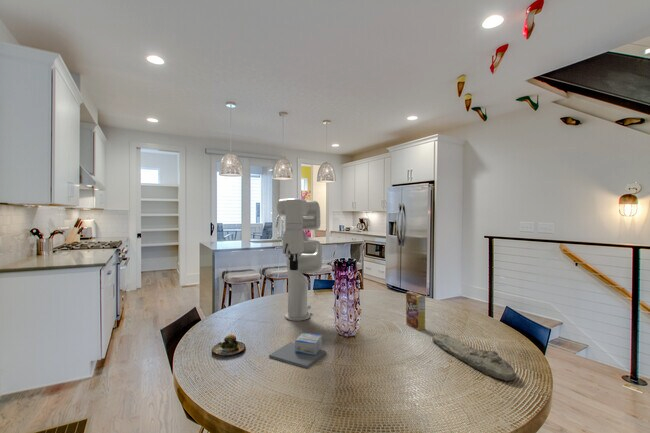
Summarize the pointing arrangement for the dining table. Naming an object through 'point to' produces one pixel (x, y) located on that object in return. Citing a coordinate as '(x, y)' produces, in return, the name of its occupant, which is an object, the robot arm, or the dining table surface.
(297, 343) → the medicine box
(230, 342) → the burger
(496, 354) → the long grey stone
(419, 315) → the candy box
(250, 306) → the dining table surface
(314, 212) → the robot arm
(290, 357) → the mat
